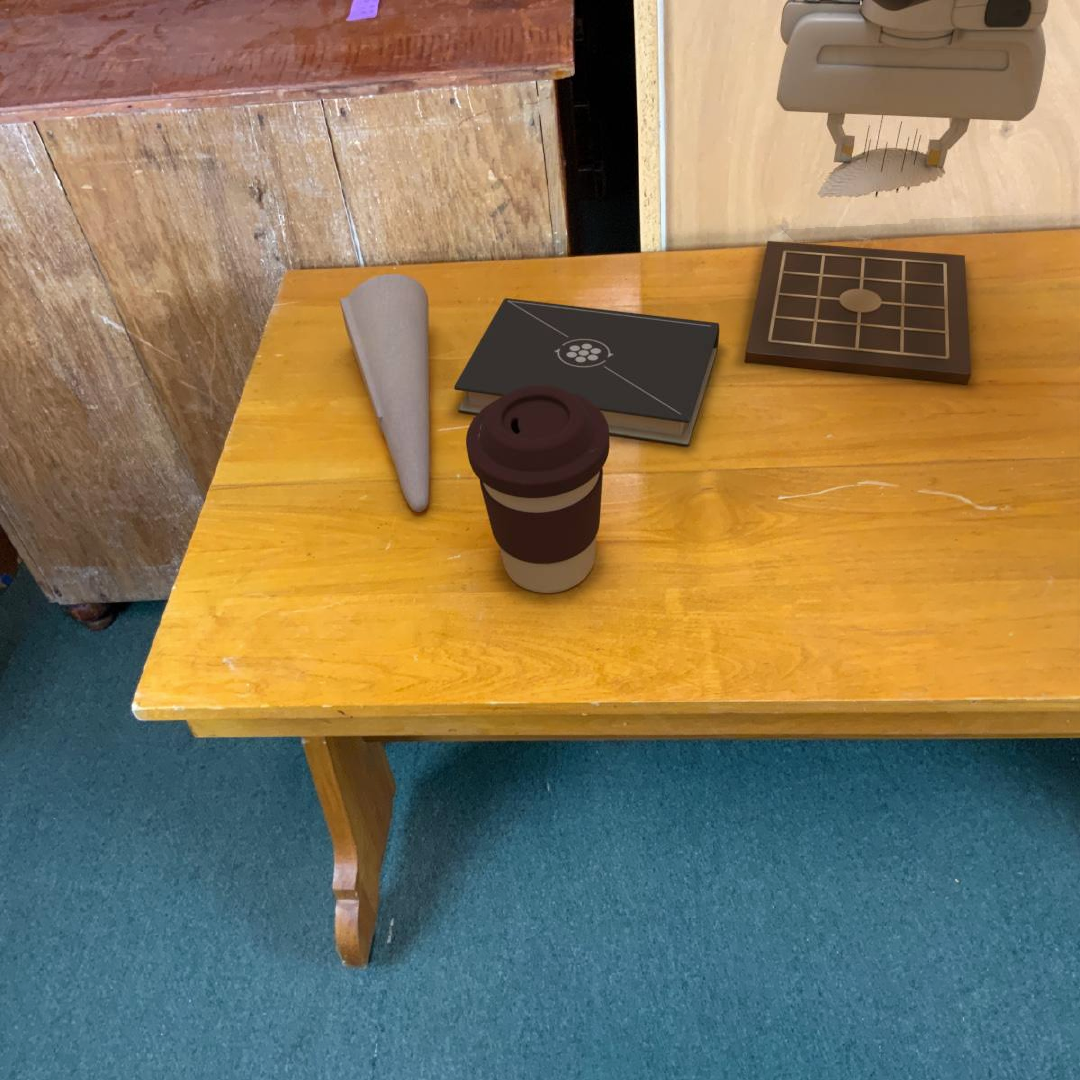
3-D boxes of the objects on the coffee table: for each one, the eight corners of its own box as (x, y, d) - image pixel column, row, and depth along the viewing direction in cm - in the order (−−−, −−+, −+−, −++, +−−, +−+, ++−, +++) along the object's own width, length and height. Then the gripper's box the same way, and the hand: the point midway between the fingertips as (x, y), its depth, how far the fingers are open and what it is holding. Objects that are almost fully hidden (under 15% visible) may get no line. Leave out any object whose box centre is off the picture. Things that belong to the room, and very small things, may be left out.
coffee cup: (631, 535, 77) (631, 388, 66) (580, 626, 71) (570, 481, 60) (522, 502, 80) (504, 357, 69) (464, 586, 75) (435, 442, 63)
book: (718, 347, 93) (720, 321, 91) (688, 447, 83) (690, 421, 81) (507, 321, 98) (505, 295, 96) (457, 412, 89) (453, 387, 87)
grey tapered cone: (505, 455, 78) (423, 265, 92) (402, 483, 76) (335, 285, 91) (509, 514, 84) (431, 327, 98) (413, 540, 82) (349, 346, 97)
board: (961, 265, 99) (965, 253, 98) (967, 384, 86) (971, 373, 86) (766, 250, 104) (767, 239, 103) (744, 362, 91) (745, 350, 90)
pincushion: (834, 218, 82) (845, 154, 78) (802, 186, 86) (811, 123, 82) (960, 191, 84) (978, 127, 79) (923, 161, 88) (938, 98, 83)
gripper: (781, 0, 73) (762, 172, 83) (1072, 5, 69) (1014, 187, 79) (788, -29, 77) (769, 139, 87) (1063, -26, 73) (1010, 151, 83)
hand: (888, 162), depth 83 cm, fingers closed on pincushion, 6 cm apart
